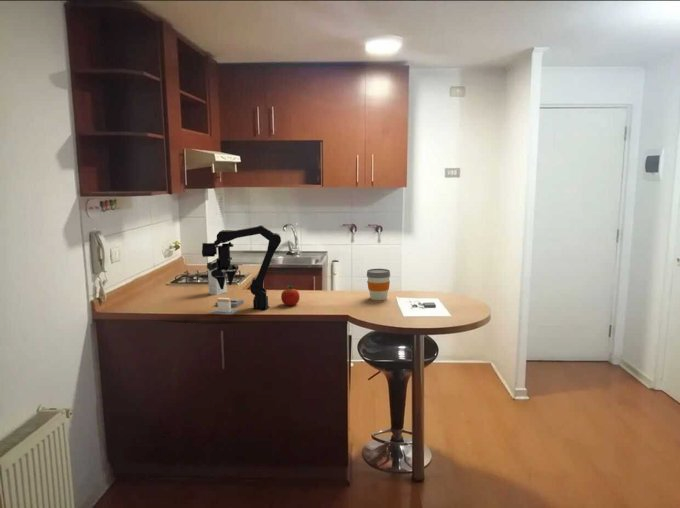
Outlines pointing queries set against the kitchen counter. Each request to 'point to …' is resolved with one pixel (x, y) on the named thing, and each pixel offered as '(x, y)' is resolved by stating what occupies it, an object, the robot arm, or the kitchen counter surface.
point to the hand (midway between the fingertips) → (226, 287)
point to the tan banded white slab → (224, 304)
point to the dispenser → (234, 303)
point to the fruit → (290, 296)
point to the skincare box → (215, 285)
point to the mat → (225, 312)
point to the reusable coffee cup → (378, 283)
